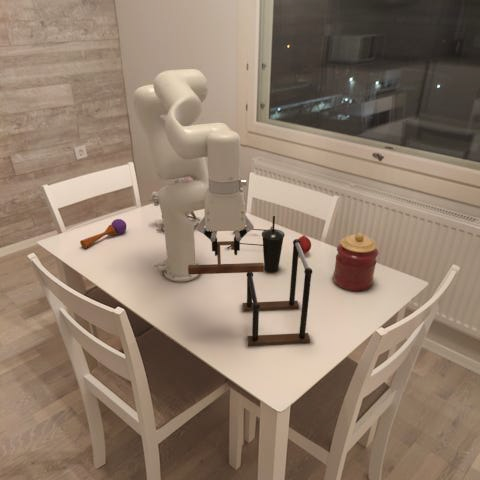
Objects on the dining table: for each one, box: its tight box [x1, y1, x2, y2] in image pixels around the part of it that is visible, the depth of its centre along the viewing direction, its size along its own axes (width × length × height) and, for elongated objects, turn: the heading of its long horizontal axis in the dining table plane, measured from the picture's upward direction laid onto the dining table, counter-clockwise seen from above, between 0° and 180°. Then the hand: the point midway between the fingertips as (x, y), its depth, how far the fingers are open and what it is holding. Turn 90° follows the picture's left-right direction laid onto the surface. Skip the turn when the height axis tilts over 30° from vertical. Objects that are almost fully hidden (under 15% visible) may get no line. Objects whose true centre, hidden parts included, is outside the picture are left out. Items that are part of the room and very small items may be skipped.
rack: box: [241, 238, 313, 347], centre depth 123 cm, size 17×19×23 cm
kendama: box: [79, 218, 127, 249], centre depth 174 cm, size 6×6×20 cm
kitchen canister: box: [332, 232, 379, 292], centre depth 144 cm, size 13×13×18 cm
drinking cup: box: [261, 215, 286, 274], centre depth 150 cm, size 8×8×20 cm
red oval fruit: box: [297, 234, 312, 255], centre depth 163 cm, size 6×6×8 cm
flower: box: [147, 176, 200, 232], centre depth 180 cm, size 20×22×25 cm
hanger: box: [188, 240, 265, 275], centre depth 116 cm, size 20×2×9 cm, turn 94°
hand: (225, 252), depth 115 cm, fingers closed on hanger, 4 cm apart
